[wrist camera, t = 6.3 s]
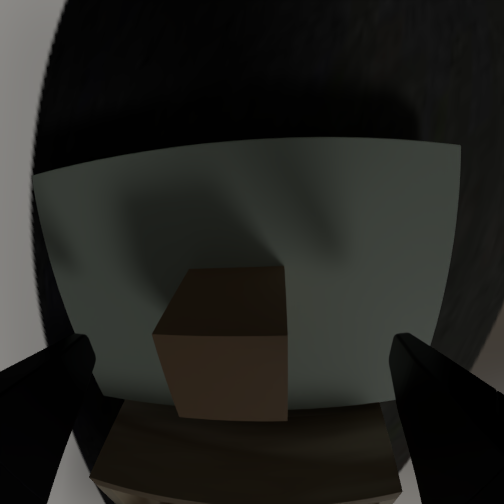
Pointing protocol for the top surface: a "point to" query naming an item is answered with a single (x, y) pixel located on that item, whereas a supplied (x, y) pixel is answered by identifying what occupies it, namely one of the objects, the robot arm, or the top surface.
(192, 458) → the box
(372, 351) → the lid
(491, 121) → the top surface
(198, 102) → the top surface
